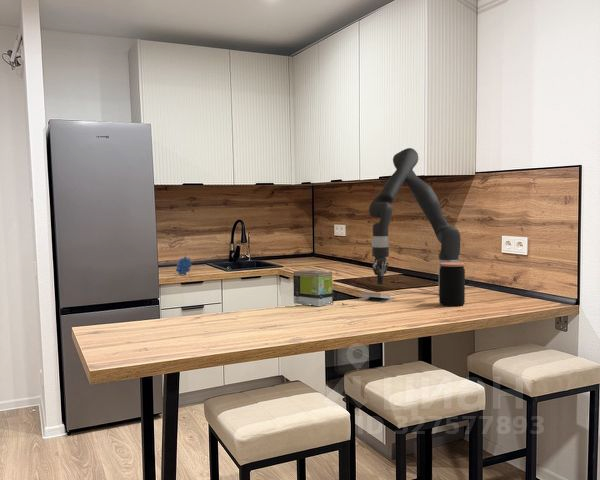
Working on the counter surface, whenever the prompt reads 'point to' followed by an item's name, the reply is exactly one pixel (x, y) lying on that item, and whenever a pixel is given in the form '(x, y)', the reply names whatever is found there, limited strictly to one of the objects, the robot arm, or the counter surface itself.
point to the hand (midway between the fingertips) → (380, 284)
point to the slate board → (375, 299)
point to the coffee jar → (452, 284)
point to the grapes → (183, 266)
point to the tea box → (312, 287)
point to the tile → (375, 295)
